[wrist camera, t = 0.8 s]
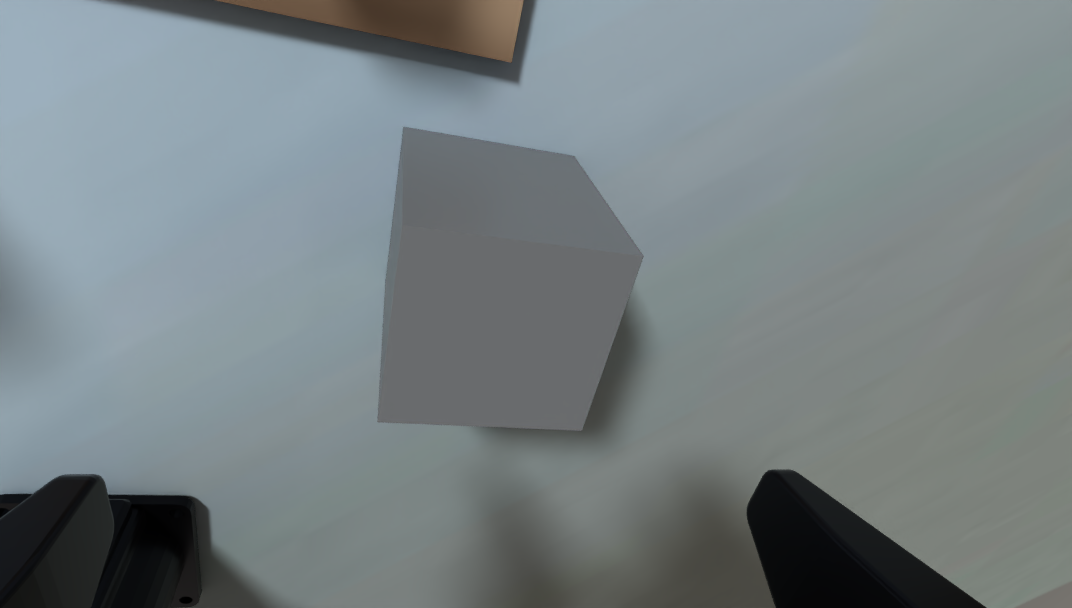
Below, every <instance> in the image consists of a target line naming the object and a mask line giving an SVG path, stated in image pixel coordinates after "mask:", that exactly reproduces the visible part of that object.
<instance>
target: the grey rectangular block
mask: <svg viewBox="0 0 1072 608" xmlns="http://www.w3.org/2000/svg"><path fill="white" fill-rule="evenodd" d="M643 257H644V256H643V254H642V253H641V252H640V250H639V249H638V247H637V246H636V244H635V243H634V241H633V240H632V239H631V237H630V236H629V234H628V233H627V231H626V230H625V228H624V227H623V226H622V224H621V223H620V221H619V220H618V218H617V217H616V216H615V214H614V213H613V211H612V210H611V208H610V207H609V205H608V204H607V203H606V201H605V200H604V198H603V197H602V195H601V194H600V192H599V191H598V190H597V188H596V187H595V185H594V184H593V182H592V181H591V180H590V178H589V177H588V175H587V174H586V172H585V171H584V169H583V168H582V167H581V165H580V164H579V162H578V161H577V159H576V158H575V156H570V155H564V154H558V153H552V152H547V151H541V150H535V149H529V148H523V147H518V146H512V145H506V144H500V143H494V142H489V141H483V140H477V139H471V138H465V137H459V136H454V135H448V134H442V133H436V132H430V131H425V130H419V129H413V128H407V127H403V135H402V143H401V152H400V161H399V169H398V178H397V186H396V195H395V204H394V212H393V221H392V230H391V238H390V247H389V255H388V264H387V273H386V281H385V298H384V315H383V333H382V351H381V368H380V386H379V403H378V421H377V422H387V423H411V424H434V425H457V426H481V427H504V428H528V429H551V430H575V431H582V429H583V426H584V423H585V421H586V418H587V415H588V412H589V409H590V406H591V404H592V401H593V398H594V395H595V392H596V389H597V387H598V384H599V381H600V378H601V375H602V373H603V370H604V367H605V364H606V361H607V358H608V356H609V353H610V350H611V347H612V344H613V341H614V339H615V336H616V333H617V330H618V327H619V324H620V322H621V319H622V316H623V313H624V310H625V308H626V305H627V302H628V299H629V296H630V293H631V291H632V288H633V285H634V282H635V279H636V276H637V274H638V271H639V268H640V265H641V262H642V259H643Z"/></svg>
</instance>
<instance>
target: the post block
mask: <svg viewBox="0 0 1072 608" xmlns="http://www.w3.org/2000/svg"><path fill="white" fill-rule="evenodd" d="M216 1H220V2H225V3H230V4H235V5H239V6H244V7H249V8H254V9H258V10H263V11H268V12H273V13H277V14H282V15H287V16H292V17H296V18H301V19H306V20H311V21H316V22H320V23H325V24H330V25H335V26H339V27H344V28H349V29H354V30H358V31H363V32H368V33H373V34H377V35H382V36H387V37H392V38H396V39H401V40H406V41H411V42H415V43H420V44H425V45H430V46H434V47H439V48H444V49H449V50H454V51H458V52H463V53H468V54H473V55H477V56H482V57H487V58H492V59H496V60H501V61H506V62H511V63H512V57H513V52H514V47H515V42H516V37H517V32H518V27H519V22H520V16H521V11H522V6H523V1H524V0H216Z"/></svg>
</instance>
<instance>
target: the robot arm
mask: <svg viewBox="0 0 1072 608" xmlns="http://www.w3.org/2000/svg"><path fill="white" fill-rule="evenodd" d="M747 520H748V524H749V527H750V530H751V533H752V536H753V539H754V542H755V545H756V549H757V552H758V555H759V558H760V561H761V564H762V567H763V570H764V573H765V576H766V579H767V583H768V586H769V589H770V592H771V595H772V598H773V601H774V604H775V607H776V608H986V607H985V606H983V605H982V604H981V603H979V602H978V601H976V600H975V599H974V598H972V597H971V596H969V595H968V594H967V593H965V592H964V591H962V590H961V589H960V588H958V587H957V586H955V585H954V584H953V583H951V582H950V581H948V580H947V579H946V578H944V577H943V576H941V575H940V574H939V573H937V572H936V571H934V570H933V569H932V568H930V567H929V566H927V565H926V564H925V563H923V562H922V561H920V560H919V559H918V558H916V557H915V556H913V555H912V554H911V553H909V552H908V551H906V550H905V549H904V548H902V547H901V546H899V545H898V544H897V543H895V542H894V541H893V540H891V539H890V538H888V537H887V536H886V535H884V534H883V533H881V532H880V531H879V530H877V529H876V528H874V527H873V526H872V525H870V524H869V523H867V522H866V521H865V520H863V519H862V518H860V517H859V516H858V515H856V514H855V513H853V512H852V511H851V510H849V509H848V508H846V507H845V506H844V505H842V504H841V503H839V502H838V501H837V500H835V499H834V498H832V497H831V496H830V495H828V494H827V493H825V492H824V491H823V490H821V489H820V488H818V487H817V486H816V485H814V484H813V483H811V482H810V481H809V480H807V479H806V478H804V477H803V476H802V475H800V474H799V473H797V472H795V471H793V470H769V471H767V472H766V473H765V474H764V475H763V476H762V478H761V480H760V482H759V484H758V486H757V488H756V490H755V492H754V493H753V495H752V497H751V499H750V501H749V503H748V506H747ZM201 592H202V589H201V577H200V565H199V553H198V542H197V530H196V518H195V506H194V503H193V501H192V500H191V499H189V498H187V497H183V496H135V495H108V493H107V489H106V485H105V482H104V480H103V478H102V477H101V476H99V475H95V474H68V475H61V476H59V477H57V478H54V479H53V480H51V481H50V482H49V483H47V484H46V485H44V486H43V487H42V488H40V489H39V490H38V491H36V492H35V493H34V494H4V495H0V608H178V607H192V606H194V605H196V604H197V603H198V602H199V598H200V595H201Z"/></svg>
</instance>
